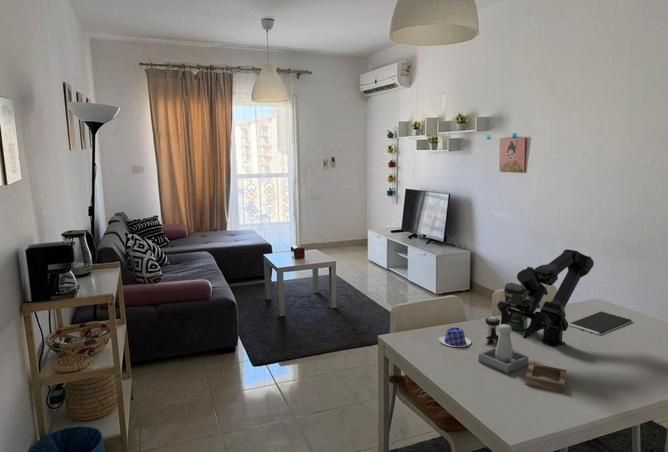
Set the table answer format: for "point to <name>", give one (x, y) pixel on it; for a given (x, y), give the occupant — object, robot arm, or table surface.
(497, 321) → the push button
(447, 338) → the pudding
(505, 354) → the salt shaker
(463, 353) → the table surface
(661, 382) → the table surface
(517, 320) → the coffee jar
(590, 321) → the dark flat slab
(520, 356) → the grey tray
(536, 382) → the walnut socket
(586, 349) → the table surface
